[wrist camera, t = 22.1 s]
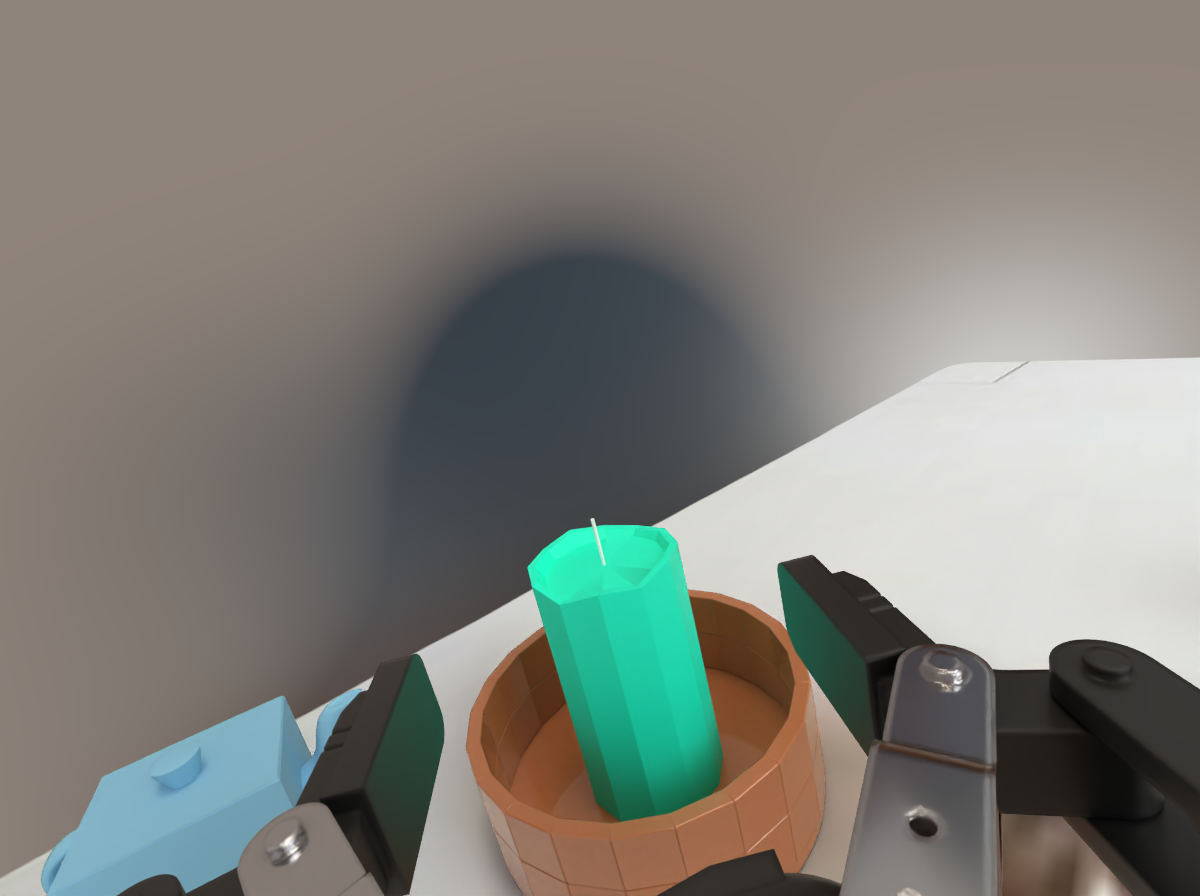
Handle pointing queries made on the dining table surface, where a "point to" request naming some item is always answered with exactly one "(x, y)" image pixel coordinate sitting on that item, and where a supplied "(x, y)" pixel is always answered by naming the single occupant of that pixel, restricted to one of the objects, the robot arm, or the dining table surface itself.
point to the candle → (630, 666)
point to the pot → (669, 841)
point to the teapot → (190, 804)
